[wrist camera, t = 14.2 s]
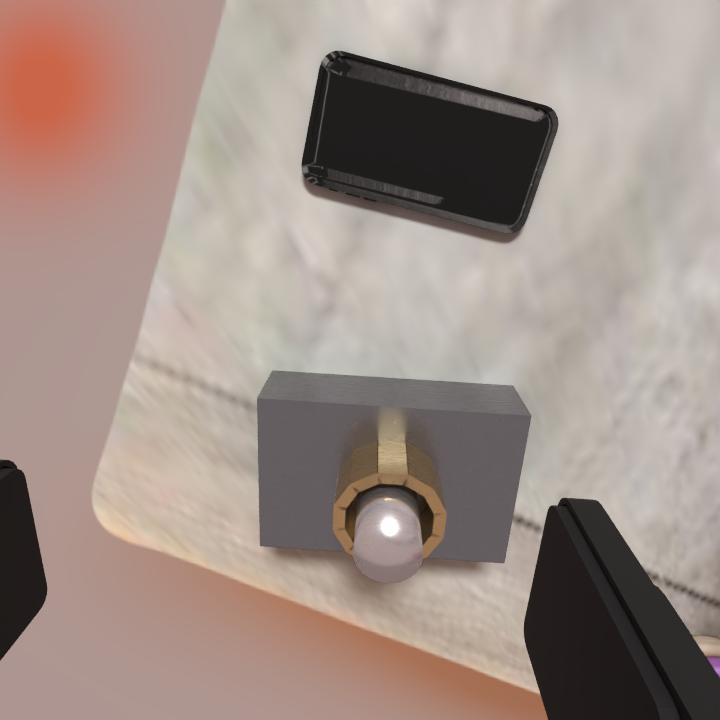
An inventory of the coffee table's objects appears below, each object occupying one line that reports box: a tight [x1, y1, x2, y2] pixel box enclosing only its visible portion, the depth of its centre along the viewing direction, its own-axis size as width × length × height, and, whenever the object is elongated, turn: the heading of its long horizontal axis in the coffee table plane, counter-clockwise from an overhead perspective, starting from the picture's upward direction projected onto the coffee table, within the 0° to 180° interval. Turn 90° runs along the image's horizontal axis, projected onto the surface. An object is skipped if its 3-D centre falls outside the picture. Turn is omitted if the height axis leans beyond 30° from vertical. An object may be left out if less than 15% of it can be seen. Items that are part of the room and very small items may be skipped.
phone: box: [302, 51, 558, 233], centre depth 33 cm, size 8×1×15 cm
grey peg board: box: [257, 371, 531, 583], centre depth 35 cm, size 18×12×12 cm, turn 87°
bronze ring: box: [333, 440, 447, 559], centre depth 34 cm, size 7×7×4 cm
